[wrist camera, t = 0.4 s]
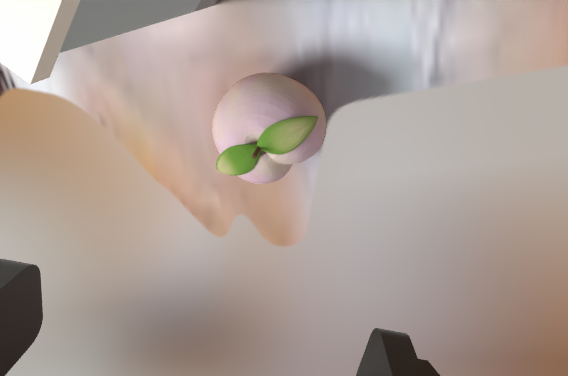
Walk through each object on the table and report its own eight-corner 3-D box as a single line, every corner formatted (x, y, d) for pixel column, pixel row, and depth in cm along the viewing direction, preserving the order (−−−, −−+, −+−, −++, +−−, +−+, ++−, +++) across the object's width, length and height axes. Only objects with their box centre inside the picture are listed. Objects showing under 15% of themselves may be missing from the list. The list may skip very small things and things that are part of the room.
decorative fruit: (285, 35, 31) (257, 63, 23) (345, 109, 34) (340, 159, 25) (213, 103, 36) (167, 148, 27) (270, 165, 38) (245, 223, 30)
